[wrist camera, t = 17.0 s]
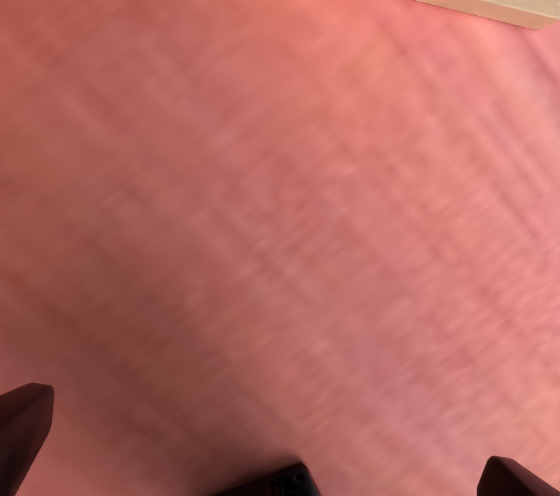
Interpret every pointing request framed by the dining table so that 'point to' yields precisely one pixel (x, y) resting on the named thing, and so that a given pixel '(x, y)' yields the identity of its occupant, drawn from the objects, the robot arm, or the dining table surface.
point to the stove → (508, 10)
